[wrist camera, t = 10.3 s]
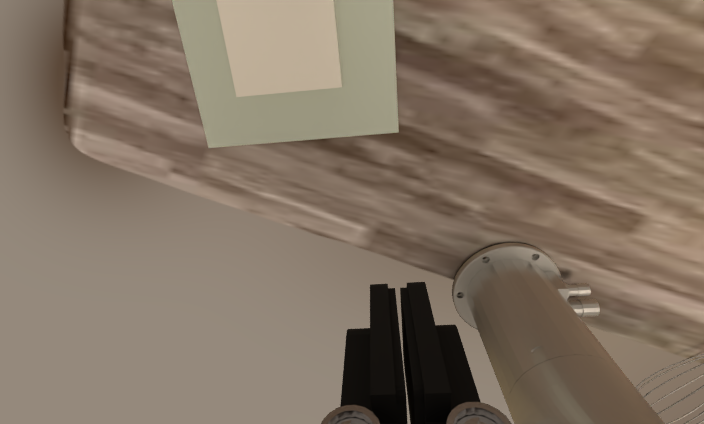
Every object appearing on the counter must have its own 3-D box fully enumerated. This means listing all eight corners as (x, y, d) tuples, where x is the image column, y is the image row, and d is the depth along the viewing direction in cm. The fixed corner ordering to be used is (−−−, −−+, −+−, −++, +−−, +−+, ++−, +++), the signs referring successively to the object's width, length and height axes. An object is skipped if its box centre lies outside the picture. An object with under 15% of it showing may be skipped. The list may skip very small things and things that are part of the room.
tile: (329, -42, 30) (210, -28, 31) (341, 87, 34) (236, 97, 35) (331, -36, 32) (219, -23, 33) (343, 85, 36) (243, 94, 37)
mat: (387, -115, 30) (388, -118, 29) (398, 131, 38) (398, 132, 37) (154, -83, 32) (150, -85, 31) (210, 146, 39) (208, 148, 39)
